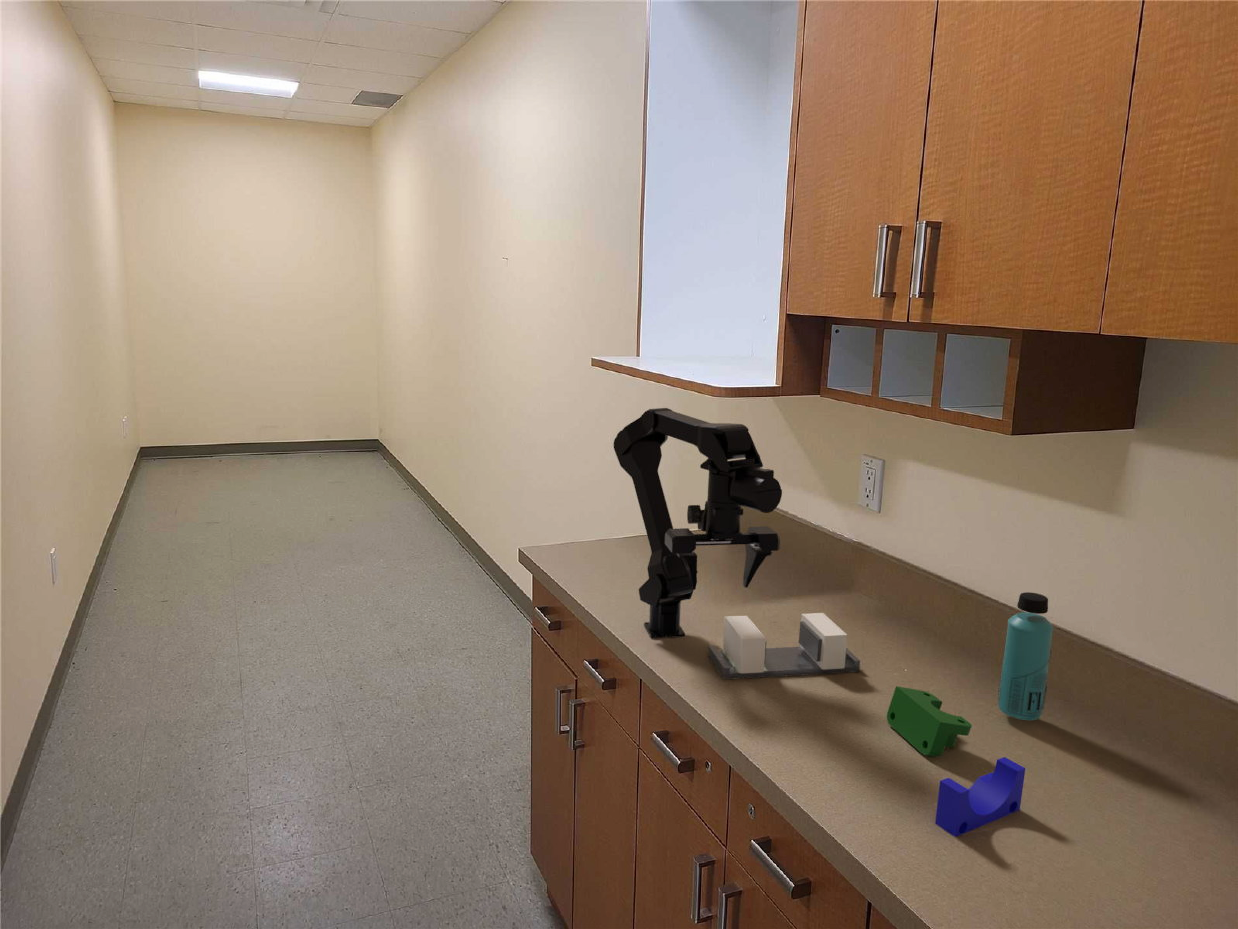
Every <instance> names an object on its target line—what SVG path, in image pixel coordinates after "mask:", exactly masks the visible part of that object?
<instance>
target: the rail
mask: <svg viewBox="0 0 1238 929" xmlns="http://www.w3.org/2000/svg"><path fill="white" fill-rule="evenodd" d="M707 654H708V657H707V658H708V659H709V660H710V662H711V663H712V665H713V666H714V667H715V669H716V670H717V672H718V674H719V675H720V676H721V678H722V680H735V679H734V678H740V679H755V678H757V677H758V678H771V677H770V676H775V677H789V676H788V675H792V676H804V675H805V676H806V674H808V675H823V674H824V675H827V674H837V673H838V674H839V673H840V674H841V673H843V674H844V673H855V672H856V673H859V672H860V666H861V665H860V664H861V659H859V658H858V657H857V655H855V654H854V653H852V651H850V650H849V648H847V647H846V656H845V667H844V668H841V669H824V670H822V669H821V668H820V667H819V666H818V665H817V664H816V663H815V662H814V660H813V659H812V658H811V657H810V656H809V655H808V654H807V653H806V652H805V651H804V650H803V649H802V648H801V647H800V646H787V647H786V646H785V647H768V648H767V647H766V655H765V664H764V672H759V673H740V672H739V671H738V669H737V668H736V666H735V665H734V664H733V662H732V661H731V659H730V658H729V657H728V655H727V654H726V652H725V651H724V650H723V649H722V650H718V649H717V648H716V646H715V645H708V653H707ZM802 674H804V675H802ZM782 675H783V676H782ZM785 675H787V676H785ZM758 678H757V679H758Z"/></svg>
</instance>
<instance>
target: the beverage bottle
mask: <svg viewBox="0 0 1238 929" xmlns="http://www.w3.org/2000/svg"><path fill="white" fill-rule="evenodd" d="M1017 609H1019V610H1021V611H1022V612H1018V613H1015V615H1012V616H1011V617H1010V618H1008V619H1007V629H1006V637H1005V646H1004V647H1005V648H1004V655H1003V658H1002V666H1001V674H1000V678H999V680H1000V681H999V686H998V687H999V688H998V692H997V701H996V703H997V705H998V709H999V710H1000V711H1001V713H1003V714H1005V715H1007V716H1009V717H1011V718H1014V719H1018V720H1022V721H1023V720H1024V721H1036V720H1038V719H1040V718H1041V717H1042V715H1043V712H1044V709H1045V708H1044V707H1045V706H1044V705H1045V703H1046V695H1047V683H1048V672H1049V666H1050V664H1051V662H1050V659H1051V655H1052V639H1053V632H1054V625H1052V623H1051V622H1050V621H1049V619H1047V618H1046V617H1045V616H1043V615H1041V614H1047V613H1048V610H1049V598H1048V597H1047V596H1046V595H1043V594H1041V593H1036V592H1032V591H1031V592H1029V591H1028V592H1027V591H1026V592H1021V593H1020V594H1019V597H1018V601H1017Z"/></svg>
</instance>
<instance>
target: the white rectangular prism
mask: <svg viewBox="0 0 1238 929" xmlns="http://www.w3.org/2000/svg"><path fill="white" fill-rule="evenodd" d="M723 620H724V625H723V640H722V650H724V651H725V652H726V654H727V655H728V657H729V658H730V659H731V661H732V662H733V664H734V665H735V666H736V668H737V669H738V671H739V672H740V673H759V672H764V664H765V655H766V648H767V639H766V637H765V635H764V634H763V633H762V632H761V631H760V629H759V628H758V627H757V626H756V625H755V624H754V622H753V621H752V620H751V619H750V617H748V615H729V616H728V615H727V616H724V619H723Z"/></svg>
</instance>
